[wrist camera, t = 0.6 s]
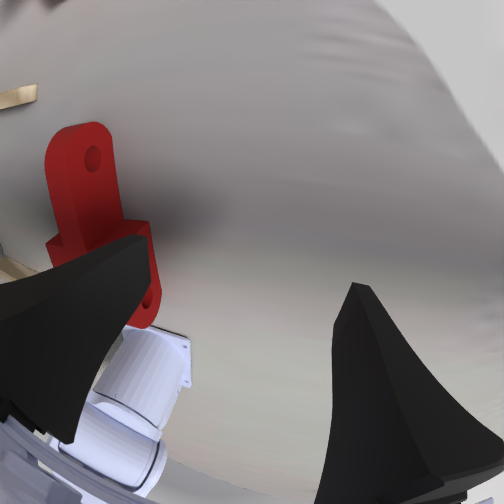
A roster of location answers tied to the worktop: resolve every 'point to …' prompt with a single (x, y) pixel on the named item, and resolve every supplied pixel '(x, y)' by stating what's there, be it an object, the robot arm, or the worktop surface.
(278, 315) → the worktop surface
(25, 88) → the tray
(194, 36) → the worktop surface
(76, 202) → the mechanical linkage
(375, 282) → the worktop surface
